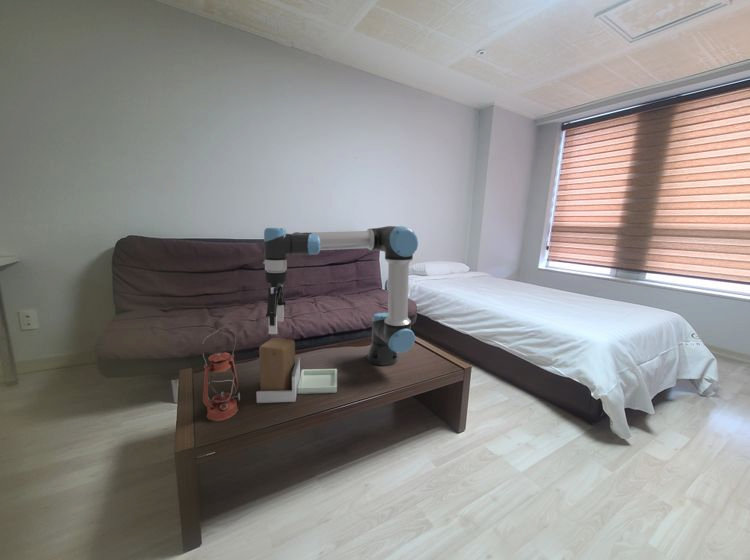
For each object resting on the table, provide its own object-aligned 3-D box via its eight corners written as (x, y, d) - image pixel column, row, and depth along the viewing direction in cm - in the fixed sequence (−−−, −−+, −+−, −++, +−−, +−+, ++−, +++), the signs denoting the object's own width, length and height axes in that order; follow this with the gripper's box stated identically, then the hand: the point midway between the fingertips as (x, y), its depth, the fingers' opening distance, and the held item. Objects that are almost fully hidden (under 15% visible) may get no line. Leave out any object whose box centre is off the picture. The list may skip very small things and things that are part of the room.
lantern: (214, 403, 108) (209, 323, 103) (244, 403, 109) (240, 323, 104) (201, 421, 99) (195, 333, 93) (234, 420, 99) (229, 333, 94)
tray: (336, 374, 133) (337, 368, 132) (336, 392, 118) (336, 387, 117) (302, 374, 131) (301, 369, 130) (297, 394, 116) (297, 388, 116)
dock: (300, 380, 126) (299, 356, 124) (295, 401, 111) (294, 374, 109) (266, 381, 124) (265, 357, 122) (256, 402, 109) (255, 375, 107)
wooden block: (284, 400, 112) (283, 349, 108) (259, 396, 114) (257, 346, 110) (296, 386, 121) (295, 339, 118) (273, 383, 123) (272, 336, 120)
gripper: (272, 266, 121) (273, 317, 125) (255, 276, 96) (257, 339, 100) (291, 266, 122) (292, 317, 125) (280, 277, 97) (280, 339, 101)
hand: (276, 327), depth 113 cm, fingers open, 13 cm apart
